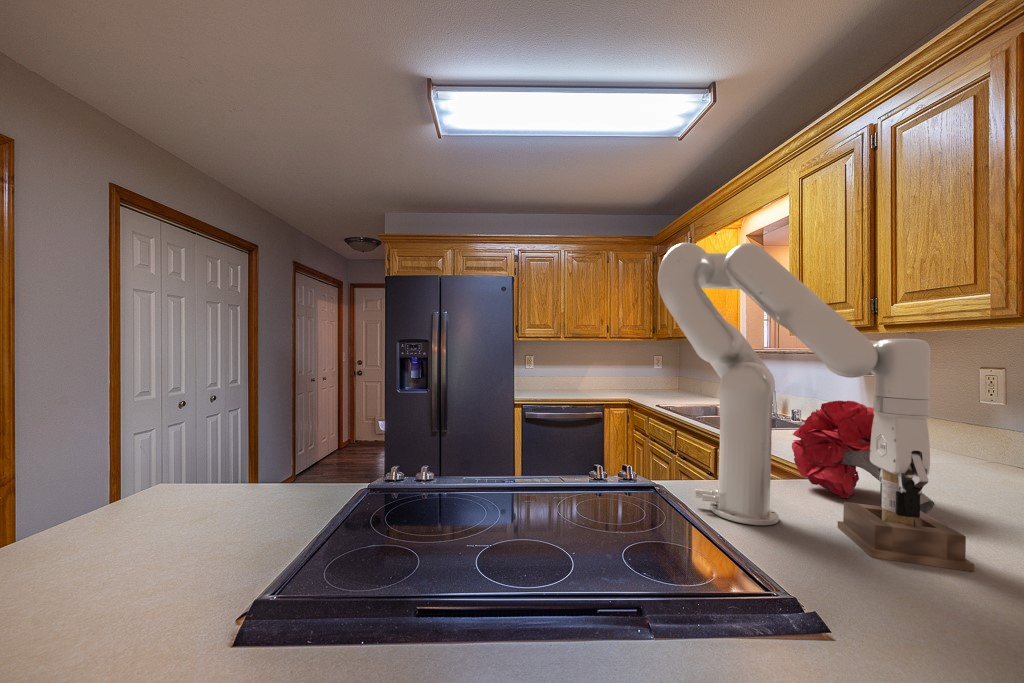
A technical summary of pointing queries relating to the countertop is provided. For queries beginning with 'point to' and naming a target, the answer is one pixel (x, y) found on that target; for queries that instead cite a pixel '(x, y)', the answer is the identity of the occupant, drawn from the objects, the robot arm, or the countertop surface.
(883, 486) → the sprinkles bottle
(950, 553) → the socket block
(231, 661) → the countertop surface
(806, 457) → the bouquet
